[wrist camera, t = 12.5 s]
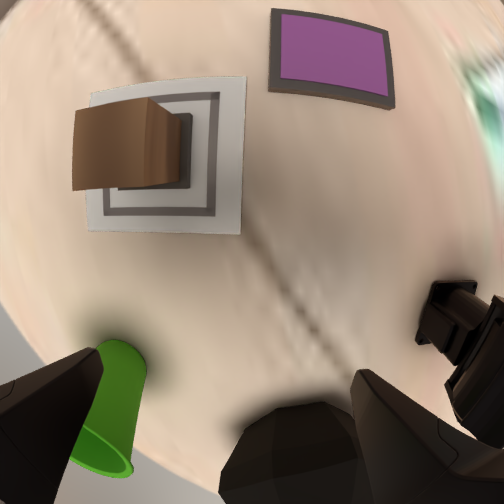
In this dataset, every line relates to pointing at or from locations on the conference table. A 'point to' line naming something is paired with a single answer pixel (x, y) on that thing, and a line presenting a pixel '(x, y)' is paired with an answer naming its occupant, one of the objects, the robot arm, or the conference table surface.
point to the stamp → (131, 147)
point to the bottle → (298, 460)
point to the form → (202, 162)
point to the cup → (112, 413)
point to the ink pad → (330, 58)
